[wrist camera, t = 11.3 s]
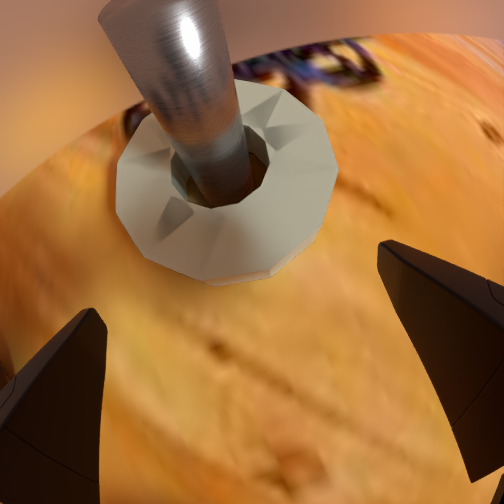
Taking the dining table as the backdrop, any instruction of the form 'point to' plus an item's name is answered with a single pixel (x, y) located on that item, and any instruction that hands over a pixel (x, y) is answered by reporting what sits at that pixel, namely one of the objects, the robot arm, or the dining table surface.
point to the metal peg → (186, 87)
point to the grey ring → (237, 215)
